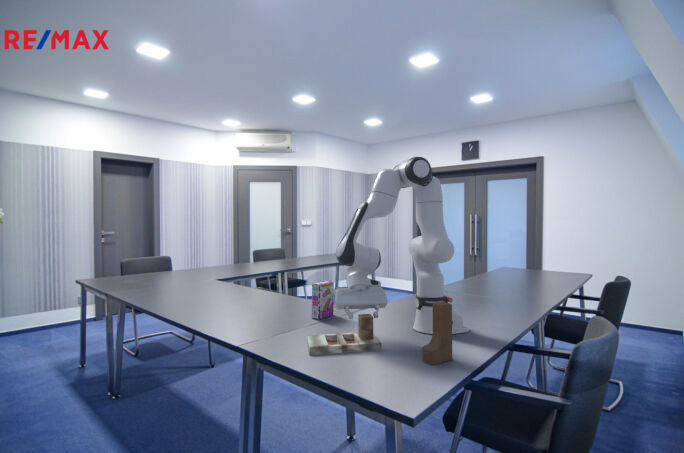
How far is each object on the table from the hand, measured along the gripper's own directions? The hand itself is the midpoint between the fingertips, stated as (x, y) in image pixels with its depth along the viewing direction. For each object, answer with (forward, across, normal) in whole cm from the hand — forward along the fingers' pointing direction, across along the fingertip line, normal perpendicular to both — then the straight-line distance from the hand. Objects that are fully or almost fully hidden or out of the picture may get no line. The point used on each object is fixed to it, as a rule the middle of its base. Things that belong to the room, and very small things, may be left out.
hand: (363, 317), depth 127 cm
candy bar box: (-21, -11, +35) cm, 42 cm away
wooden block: (+21, +19, -8) cm, 30 cm away
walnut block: (+6, 0, +4) cm, 7 cm away
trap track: (+8, -8, +5) cm, 13 cm away
